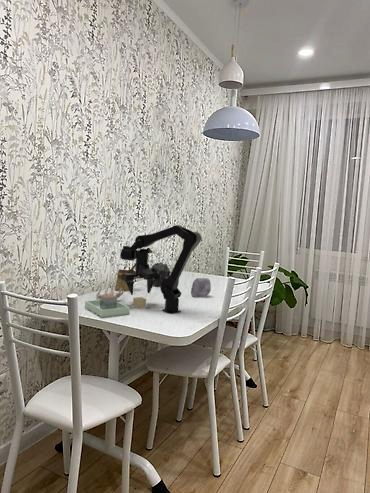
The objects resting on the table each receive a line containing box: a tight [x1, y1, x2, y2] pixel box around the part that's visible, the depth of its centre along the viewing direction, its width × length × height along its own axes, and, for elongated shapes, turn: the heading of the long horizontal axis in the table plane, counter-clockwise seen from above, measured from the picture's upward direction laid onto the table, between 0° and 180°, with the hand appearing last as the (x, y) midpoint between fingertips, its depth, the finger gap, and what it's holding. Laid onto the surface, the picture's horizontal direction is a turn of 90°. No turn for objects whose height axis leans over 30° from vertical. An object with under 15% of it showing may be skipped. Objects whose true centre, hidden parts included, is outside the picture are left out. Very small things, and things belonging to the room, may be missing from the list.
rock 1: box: [150, 262, 172, 287], centre depth 237 cm, size 16×14×15 cm
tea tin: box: [100, 294, 118, 310], centre depth 171 cm, size 6×6×6 cm
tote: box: [84, 299, 131, 319], centre depth 171 cm, size 18×13×3 cm
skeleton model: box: [95, 285, 125, 300], centre depth 195 cm, size 24×13×5 cm, turn 13°
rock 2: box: [190, 277, 212, 298], centre depth 213 cm, size 10×6×10 cm, turn 118°
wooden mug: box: [114, 264, 136, 292], centre depth 218 cm, size 9×14×18 cm, turn 84°
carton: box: [132, 296, 147, 309], centre depth 184 cm, size 4×4×4 cm
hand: (140, 294), depth 183 cm, fingers open, 9 cm apart
